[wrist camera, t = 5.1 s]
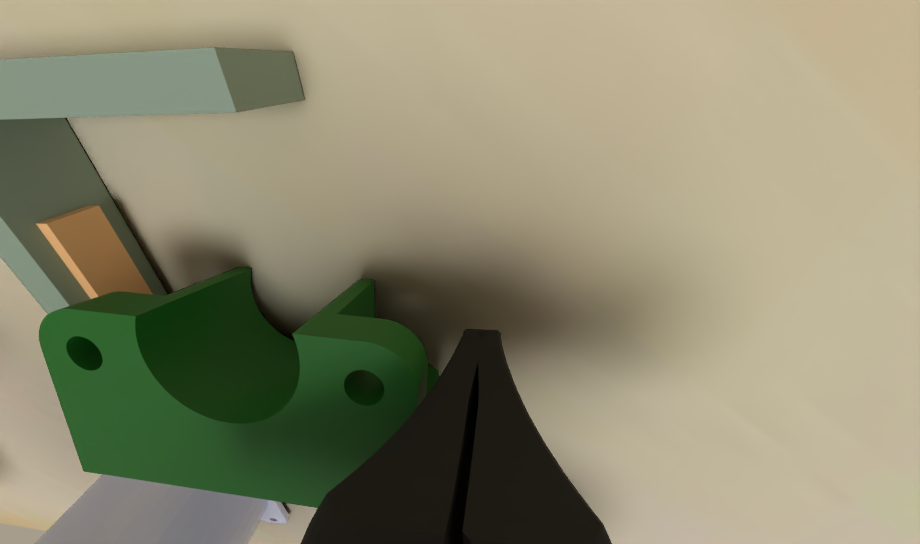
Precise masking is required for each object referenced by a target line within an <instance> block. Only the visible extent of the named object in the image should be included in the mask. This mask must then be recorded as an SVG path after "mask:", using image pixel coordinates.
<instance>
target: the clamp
mask: <svg viewBox="0 0 920 544" xmlns="http://www.w3.org/2000/svg"><path fill="white" fill-rule="evenodd" d="M251 270H252V268H242V267H238V268H235V269H233V270H230V271H227V272H225V273H222V274H220V275H217V276H215V277H212V278H209V279H207V280H204V281H202V282H199V283H196V284H194V285H191V286H189V287H186V288H183V289H181V290H178V291H176V292H173V293H171V294H168V295H165V296H160V295H151V294H141V293H132V292H121V291H118V292H111V293H108V294H105V295H102V296H99V297H96V298H93V299H90V300H87V301H83V302H80V303H77V304H74V305H71V306H68V307H65V308H62V309H59V310H56V311H53V312H51V313H49V314H48V315H47V316H46V317H45V318H44V319H43V321H42V323H41V325H40V329H39V341H40V345H41V349H42V352H43V354H44V357H45V360H46V363H47V366H48V369H49V372H50V375H51V378H52V381H53V384H54V386H55V389H56V392H57V395H58V398H59V401H60V404H61V407H62V410H63V413H64V416H65V418H66V421H67V424H68V427H69V430H70V433H71V436H72V439H73V442H74V445H75V448H76V450H77V453H78V456H79V459H80V462H81V465H82V468H83V471H85V472H92V473H98V474H104V475H111V476H117V477H124V478H130V479H136V480H143V481H149V482H156V483H162V484H169V485H175V486H181V487H188V488H194V489H201V490H207V491H213V492H220V493H226V494H233V495H239V496H246V497H252V498H258V499H265V500H271V501H278V502H284V503H291V504H297V505H303V506H310V507H316V508H318V507H319V505H320V504H321V502H322V500H323V499H324V497H325V495H326V494H327V493H328V492H329V491H330V490H332V489H333V488H334V487H335V486H336V485H338V484H339V483H340V482H341V481H343V480H344V479H345V478H346V477H347V476H349V475H350V474H351V473H352V472H354V471H355V470H356V469H357V468H358V467H359V466H361V465H362V464H363V463H364V462H365V461H366V460H367V459H368V458H369V457H370V456H372V455H373V454H374V453H375V452H376V451H377V450H378V449H379V448H380V447H381V446H382V445H383V444H384V443H385V442H386V441H387V440H388V439H389V438H390V437H391V436H392V435H393V434H394V433H395V432H396V431H397V430H398V429H399V428H400V427H401V426H402V425H403V423H404V422H405V421H406V420H407V419H408V418H409V417H410V416H411V414H412V413H413V412H414V411H415V410H416V408H417V407H418V406H419V405H420V403H421V402H422V401H423V400H424V398H425V397H426V396H427V394H428V393H429V392H430V390H431V389H432V387H433V386H434V384H435V383H436V382H437V380H438V379H439V377H440V375H439V373H438V371H437V370H436V369H435V368H434V367H433V366H432V365H430V364H428V361H427V355H426V352H425V349H424V347H423V345H422V343H421V342H420V340H419V339H418V338H417V336H416V335H415V334H414V333H413V332H412V331H410V330H409V329H408V328H406V327H405V326H403V325H401V324H399V323H397V322H394V321H391V320H387V319H380V318H375V302H374V280H368V279H359V280H358V281H357V282H356V283H354V284H353V285H352V286H351V287H349V288H348V289H347V290H346V291H344V292H343V293H342V294H341V295H339V296H338V297H337V298H336V299H334V300H333V301H332V302H331V303H330V304H328V305H327V306H326V307H325V308H323V309H322V310H321V311H320V312H318V313H317V314H316V315H315V316H313V317H312V318H311V319H310V320H308V321H307V322H306V323H305V324H304V325H302V326H301V327H300V328H299V329H297V330H296V331H295V332H294V333H292V335H293V337H294V340H295V341H293V340H291V339H289V338H287V337H285V336H284V335H282V334H281V333H279V332H278V331H276V330H275V329H274V328H273V327H272V326H271V325H270V324H269V323H268V322H267V321H266V320H265V318H264V317H263V316H262V314H261V313H260V311H259V309H258V307H257V305H256V303H255V301H254V298H253V294H252V290H251Z"/></svg>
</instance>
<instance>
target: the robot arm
mask: <svg viewBox="0 0 920 544" xmlns="http://www.w3.org/2000/svg"><path fill="white" fill-rule="evenodd" d="M288 519H289V514H288V513H287V511H286V509H285V508H284V506H283V504H282V503H281V502H278V501H271V500H265V499H258V498H252V497H246V496H239V495H233V494H226V493H220V492H213V491H207V490H201V489H194V488H188V487H181V486H175V485H169V484H162V483H156V482H149V481H143V480H136V479H130V478H124V477H117V476H111V475H104V474H103V475H102V476H101V477H100V478H99V479H98V480H97V481H96V482H95V483H94V484H93V485H92V486H91V487H90V488H89V489H88V490H87V491H86V492H85V493H84V494H83V495H82V496H81V497H80V498H79V499H78V500H77V501H76V502H75V503H74V504H73V505H72V506H71V507H70V508H69V509H68V510H67V511H66V512H65V513H64V514H63V515H62V516H61V517H60V518H59V519H58V520H57V521H56V522H55V523H54V524H53V525H52V526H51V527H50V528H49V529H48V531H47V532H46V533H45V534H44V535H43V536H42V537H41V538H40V539H39V540H38V541H37V542H36V543H35V544H248V542H249V540H250V539H251V537H252V535H253V533H254V531H255V529H256V527H257V526H258V524H259V522H260V521H266V522H274V523H282V524H284V523H287V521H288ZM301 544H612V543H611V541H610V539H609V536H608V534H607V532H606V529H605V527H604V525H603V523H602V522H601V521H600V519H599V518H598V517H597V516H596V514H595V513H594V512H593V511H592V509H591V508H590V507H589V506H588V504H587V503H586V502H585V500H584V499H583V498H582V496H581V495H580V494H579V493H578V491H577V490H576V488H575V487H574V486H573V484H572V483H571V482H570V480H569V479H568V477H567V476H566V475H565V473H564V472H563V470H562V469H561V467H560V466H559V464H558V463H557V461H556V460H555V458H554V456H553V455H552V453H551V452H550V450H549V449H548V447H547V446H546V444H545V442H544V441H543V439H542V437H541V436H540V434H539V432H538V430H537V429H536V427H535V425H534V423H533V421H532V420H531V418H530V416H529V414H528V412H527V410H526V408H525V406H524V404H523V402H522V400H521V397H520V395H519V393H518V391H517V388H516V386H515V383H514V381H513V378H512V376H511V373H510V370H509V368H508V365H507V362H506V358H505V355H504V351H503V347H502V342H501V333H500V332H499V331H498V330H478V329H466V330H465V331H464V333H463V336H462V338H461V340H460V342H459V345H458V347H457V349H456V350H455V352H454V354H453V356H452V358H451V359H450V361H449V363H448V364H447V366H446V368H445V369H444V371H443V373H442V374H441V376H440V377H439V379H438V380H437V382H436V383H435V384H434V386H433V387H432V389H431V390H430V392H429V393H428V394H427V396H426V397H425V398H424V400H423V401H422V402H421V403H420V405H419V406H418V407H417V408H416V410H415V411H414V412H413V413H412V414H411V416H410V417H409V418H408V419H407V420H406V421H405V422H404V423H403V425H402V426H401V427H400V428H399V429H398V430H397V431H396V432H395V433H394V434H393V435H392V436H391V437H390V438H389V439H388V440H387V441H386V442H385V443H384V444H383V445H382V446H381V447H380V448H379V449H378V450H377V451H376V452H375V453H374V454H373V455H372V456H370V457H369V458H368V459H367V460H366V461H365V462H364V463H363V464H362V465H361V466H359V467H358V468H357V469H356V470H355V471H354V472H352V473H351V474H350V475H349V476H347V477H346V478H345V479H344V480H343V481H341V482H340V483H339V484H338V485H336V486H335V487H334V488H333V489H332V490H330V491H329V492H328V493H327V494H326V495H325V497H324V499H323V500H322V502H321V504H320V505H319V507H318V509H317V511H316V513H315V515H314V516H313V518H312V520H311V522H310V524H309V526H308V528H307V530H306V533H305V535H304V537H303V540H302V542H301Z"/></svg>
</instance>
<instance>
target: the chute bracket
mask: <svg viewBox="0 0 920 544" xmlns="http://www.w3.org/2000/svg"><path fill="white" fill-rule="evenodd" d="M301 100H305V99H304V95H303V91H302V87H301V83H300V79H299V75H298V71H297V67H296V63H295V59H294V54H293V52H290V51H272V50H253V49H234V48H216V47H213V48H195V49H178V50H160V51H142V52H125V53H107V54H90V55H72V56H55V57H37V58H20V59H2V60H0V257H1V258H2V260H3V261H4V262H5V263H6V265H7V266H8V267H9V268H10V269H11V271H12V272H13V273H14V274H15V275H16V277H17V278H18V279H19V280H20V281H21V283H22V284H23V285H24V286H25V287H26V289H27V290H28V291H29V292H30V293H31V295H32V296H33V297H34V298H35V299H36V301H37V302H38V303H39V304H40V305H41V307H42V308H43V309H44V310H45V311H46V313H47V314H49V313H51V312H53V311H56V310H59V309H62V308H65V307H68V306H71V305H74V304H77V303H80V302H83V301H87V300H90V299H93V298H96V297H99V296H102V295H105V294H108V293H111V292H118V291H121V292H132V293H141V294H151V295H160V296H165V295H168V294H167V293H166V291H165V289H164V287H163V286H162V284H161V282H160V281H159V279H158V277H157V275H156V274H155V272H154V270H153V269H152V267H151V265H150V263H149V262H148V260H147V258H146V256H145V255H144V253H143V251H142V250H141V248H140V246H139V244H138V243H137V241H136V239H135V238H134V236H133V234H132V232H131V231H130V229H129V227H128V226H127V224H126V222H125V220H124V219H123V217H122V215H121V213H120V212H119V210H118V208H117V207H116V205H115V203H114V201H113V200H112V198H111V196H110V195H109V193H108V191H107V189H106V188H105V186H104V184H103V183H102V181H101V179H100V177H99V176H98V174H97V172H96V171H95V169H94V167H93V165H92V164H91V162H90V160H89V158H88V157H87V155H86V153H85V152H84V150H83V148H82V146H81V145H80V143H79V141H78V140H77V138H76V136H75V134H74V133H73V131H72V129H71V128H70V126H69V124H68V122H67V121H66V119H65V118H69V117H101V116H133V115H165V114H197V113H229V112H241V111H246V110H252V109H257V108H263V107H268V106H274V105H279V104H285V103H290V102H296V101H301Z"/></svg>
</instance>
